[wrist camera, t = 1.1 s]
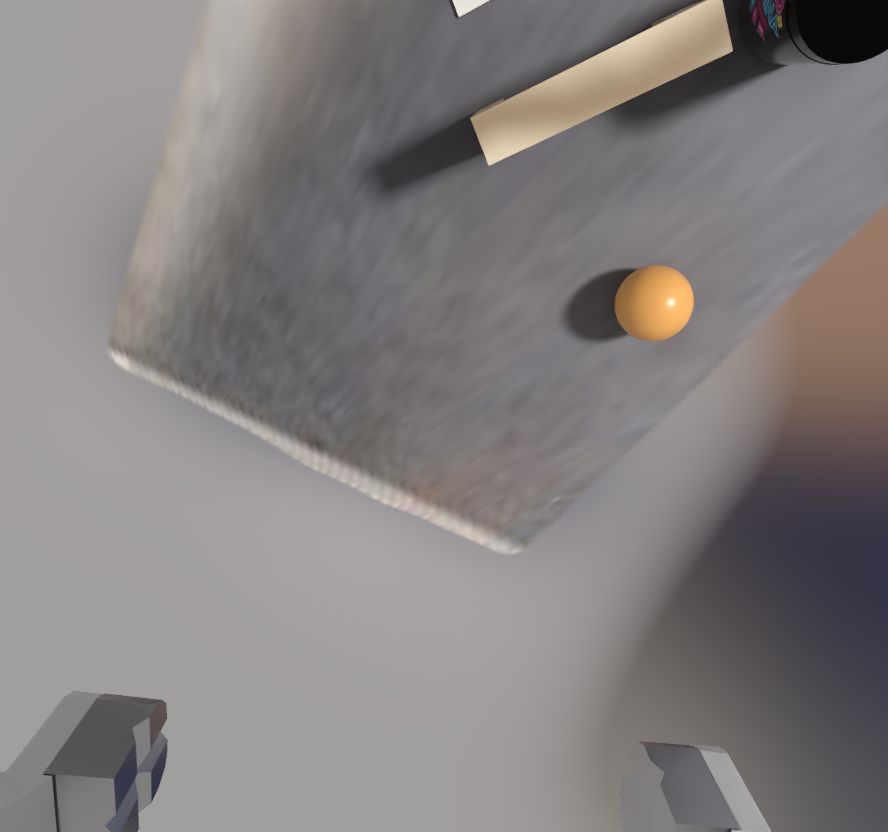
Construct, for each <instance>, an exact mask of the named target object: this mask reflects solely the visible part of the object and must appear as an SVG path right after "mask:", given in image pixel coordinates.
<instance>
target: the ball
mask: <svg viewBox="0 0 888 832" xmlns="http://www.w3.org/2000/svg"><path fill="white" fill-rule="evenodd" d="M693 305H694V297H693V291H692V288H691V286H690V284H689V282H688V281H687V279H686V278H685V277H684V276H683V275H682V274H681V273H679V272H678V271H677V270H675V269H673V268H670V267H667V266H662V265H651V266H646V267H643V268H640V269H638V270H636V271H634V272H633V273H631V274H630V275H629V276H628V277H627V278H626V279H625V280H624V281H623V282H622V284H621V285H620V287H619V289H618V291H617V294H616V297H615V313H616V317H617V319H618V322H619V323H620V325H621V327H622V328H623V329H624V330H625V331H626V332H627V333H628V334H630V335H631V336H633V337H635V338H637V339H640V340H644V341H660V340H664V339H667V338H669V337H671V336H673V335H675V334H676V333H678V332H679V331H680V330H681V329H682V328H683V327H684V326H685V325H686V323H687V322H688V320H689V318H690V316H691V314H692V310H693Z"/></svg>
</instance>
